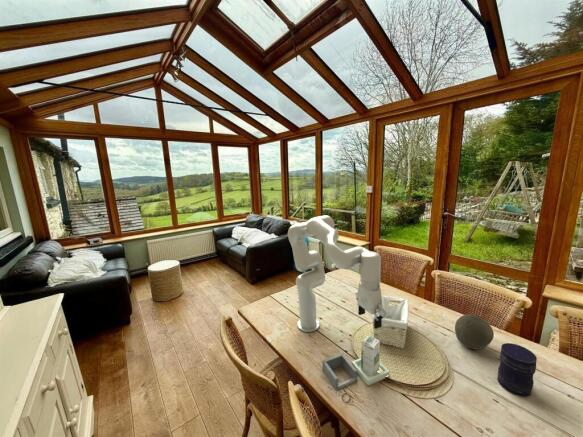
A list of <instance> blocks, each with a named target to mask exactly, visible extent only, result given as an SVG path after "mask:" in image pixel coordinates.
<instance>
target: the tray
mask: <svg viewBox="0 0 583 437" xmlns="http://www.w3.org/2000/svg"><path fill="white" fill-rule="evenodd" d="M351 364H352V365H353V366H354V367H355V368H356V370H357V376H359V377H360V378H361V380H362V381H363V382H364V384H366V385H367V387H370V386H372V385H374V384H376V383H378V382H381V381H383V380H385V379H386V378H385V376H387V375H389V376H390V370H388V368H387V367H386V366H385V365H384V364H383V363H382V362H381V361H380V360H379V367H380V368H381V369H382V370H383V372H381V373H379V374H378V373H376V375H375V376H373V377H371V376H370V375H368V374H366V373H364V372H363V371H362V370H361V357H359V358H357V359H355V360H352V361H351Z"/></svg>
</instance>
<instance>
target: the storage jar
mask: <svg viewBox="0 0 583 437" xmlns="http://www.w3.org/2000/svg"><path fill="white" fill-rule="evenodd" d="M499 361H500V362H499V365H498V367H497V383H498V385H500V387H501V388H502V389H504V390H505V391H506V392H508V393H509V394H512V395H514V396H516V397H520V398H530V397H531V396H532V392H533V388H534V384H535V381H534V374H535V373H536V371H537V370H536V368H537V361H538V358H537V355H536V354H535V353H534V352H533V351H531V350H529V349H528V348H527V347H524V346H522V345H519V344H516V343H511V342H506V343H502V344H501V348H500V354H499Z"/></svg>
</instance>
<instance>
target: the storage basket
mask: <svg viewBox="0 0 583 437" xmlns="http://www.w3.org/2000/svg"><path fill="white" fill-rule="evenodd" d="M381 295H382V308H383V309H384V310H385V312H386V313H387V315H386V316H385V318H383V319H382V323H381V327H379V328H376V329H375V328H374V319H375V316H374V314H372V317H371V319H372V329H373V330H372V331H373V333H372V334H373V338H375V339H377V340H379V341H380V342H382V343H381V344H384V343H385V344H384V345H388V344H389V345H388V346H390V345H393V346H392V347H395V346H396V347H395V348H399V347H400V348H399V349H404V348H405V344H406V338H407V337H406V336H407V330H408V324H409V314H410V313H409V312H410V304H409V299H407V298H405V299H404V298H402V297H401V298H400V297H397V296H396V297H395V296H390V295H383V294H381ZM390 303H395V304H393V305H390ZM376 314H377V316H379V314H378V313H376Z"/></svg>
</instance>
